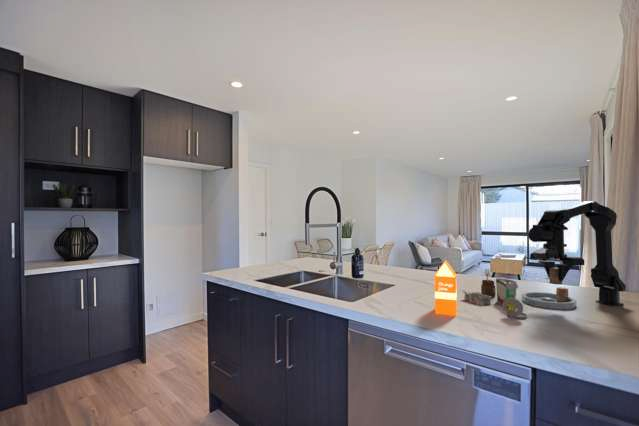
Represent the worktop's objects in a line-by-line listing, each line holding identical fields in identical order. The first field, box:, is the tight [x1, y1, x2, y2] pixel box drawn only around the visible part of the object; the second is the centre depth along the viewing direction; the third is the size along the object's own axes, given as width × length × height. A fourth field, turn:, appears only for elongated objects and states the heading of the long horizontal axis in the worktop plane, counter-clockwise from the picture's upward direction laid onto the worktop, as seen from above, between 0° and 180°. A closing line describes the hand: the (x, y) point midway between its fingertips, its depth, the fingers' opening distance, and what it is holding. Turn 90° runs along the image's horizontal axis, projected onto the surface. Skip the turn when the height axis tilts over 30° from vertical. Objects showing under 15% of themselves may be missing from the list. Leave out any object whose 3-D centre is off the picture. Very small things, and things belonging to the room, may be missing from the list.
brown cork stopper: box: [555, 286, 569, 303], centre depth 131 cm, size 4×4×6 cm
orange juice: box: [434, 259, 458, 317], centre depth 123 cm, size 8×9×20 cm
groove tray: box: [521, 291, 577, 310], centre depth 133 cm, size 18×18×2 cm
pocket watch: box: [502, 291, 528, 319], centre depth 115 cm, size 8×8×10 cm
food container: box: [495, 278, 519, 308], centre depth 131 cm, size 12×6×10 cm, turn 168°
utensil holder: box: [480, 268, 497, 298], centre depth 146 cm, size 6×6×12 cm
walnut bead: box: [549, 267, 563, 285], centre depth 125 cm, size 4×4×6 cm
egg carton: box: [462, 290, 493, 306], centre depth 136 cm, size 11×8×4 cm
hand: (555, 280), depth 125 cm, fingers closed on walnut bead, 4 cm apart
